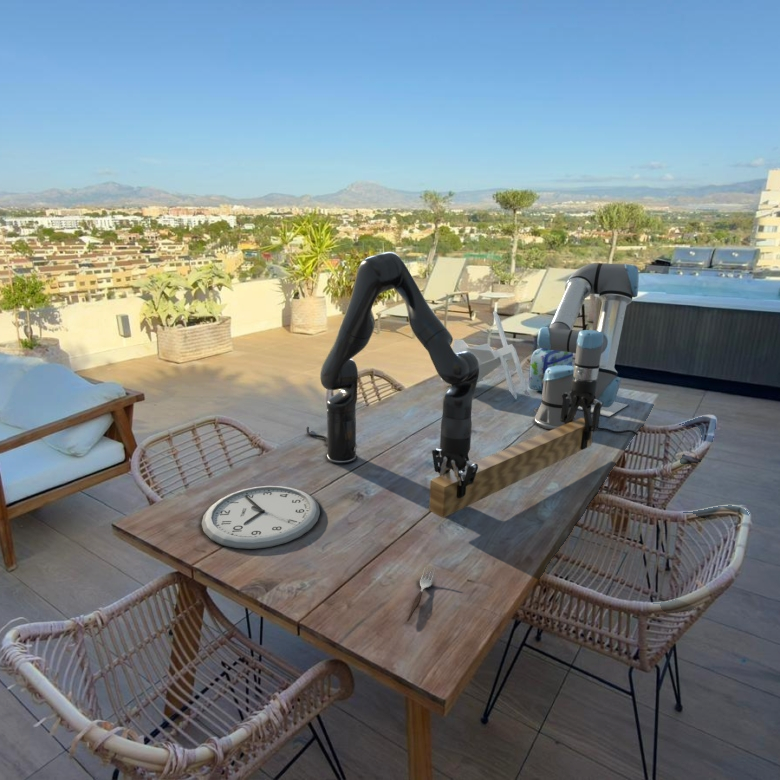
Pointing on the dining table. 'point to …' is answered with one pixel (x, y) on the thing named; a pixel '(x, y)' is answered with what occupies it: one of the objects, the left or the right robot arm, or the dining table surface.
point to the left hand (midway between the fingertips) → (452, 492)
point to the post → (507, 467)
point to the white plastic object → (494, 358)
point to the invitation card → (609, 408)
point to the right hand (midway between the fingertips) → (575, 445)
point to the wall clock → (260, 517)
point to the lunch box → (545, 365)
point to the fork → (424, 584)
